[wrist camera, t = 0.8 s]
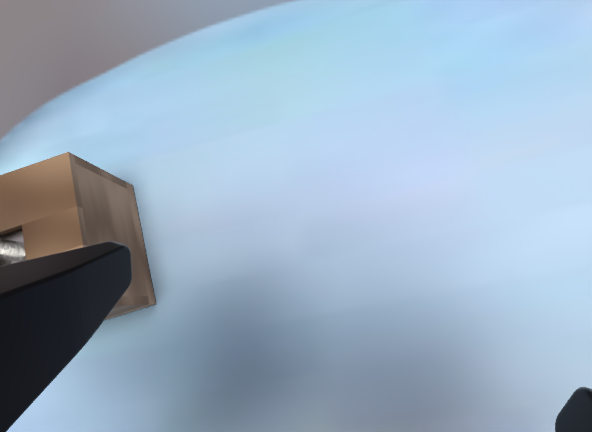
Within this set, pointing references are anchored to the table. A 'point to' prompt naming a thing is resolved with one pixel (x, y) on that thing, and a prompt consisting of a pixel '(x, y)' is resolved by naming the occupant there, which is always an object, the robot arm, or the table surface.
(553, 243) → the table surface
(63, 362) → the robot arm
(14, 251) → the black ball knob
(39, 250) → the wooden box
